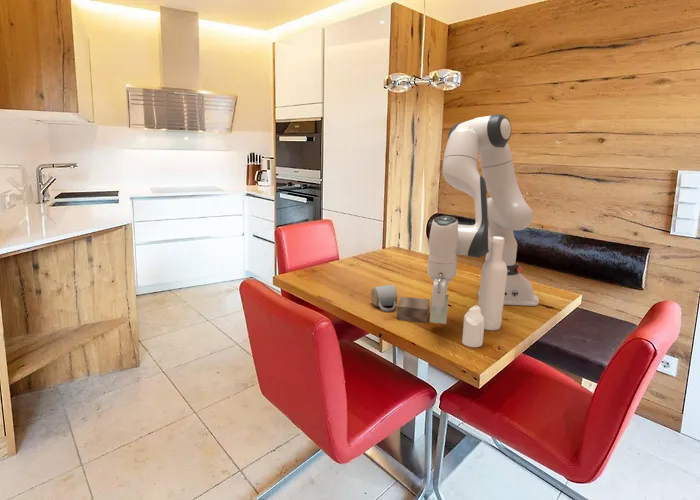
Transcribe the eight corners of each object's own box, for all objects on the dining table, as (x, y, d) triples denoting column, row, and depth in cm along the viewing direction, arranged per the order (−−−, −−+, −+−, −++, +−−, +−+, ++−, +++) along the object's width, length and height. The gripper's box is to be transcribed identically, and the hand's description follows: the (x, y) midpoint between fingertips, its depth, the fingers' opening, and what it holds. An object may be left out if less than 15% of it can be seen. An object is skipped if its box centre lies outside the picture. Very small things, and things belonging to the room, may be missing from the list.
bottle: (479, 330, 138) (489, 239, 130) (472, 320, 145) (482, 234, 138) (504, 331, 138) (515, 240, 131) (496, 321, 145) (506, 235, 138)
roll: (465, 308, 124) (464, 301, 129) (462, 346, 127) (461, 338, 132) (486, 310, 123) (485, 303, 128) (483, 348, 126) (481, 340, 131)
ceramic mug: (369, 302, 160) (370, 283, 158) (389, 300, 163) (390, 281, 161) (379, 313, 151) (380, 293, 149) (400, 311, 153) (402, 291, 151)
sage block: (446, 317, 138) (448, 294, 136) (445, 323, 133) (447, 299, 132) (431, 316, 139) (432, 292, 138) (429, 322, 135) (431, 298, 133)
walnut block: (428, 312, 153) (429, 299, 152) (426, 323, 143) (427, 309, 142) (400, 309, 155) (401, 296, 154) (396, 320, 146) (397, 306, 145)
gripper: (450, 279, 122) (447, 324, 125) (453, 261, 141) (450, 301, 144) (428, 277, 123) (425, 322, 127) (434, 260, 143) (431, 299, 146)
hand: (439, 310), depth 136 cm, fingers closed on sage block, 5 cm apart
